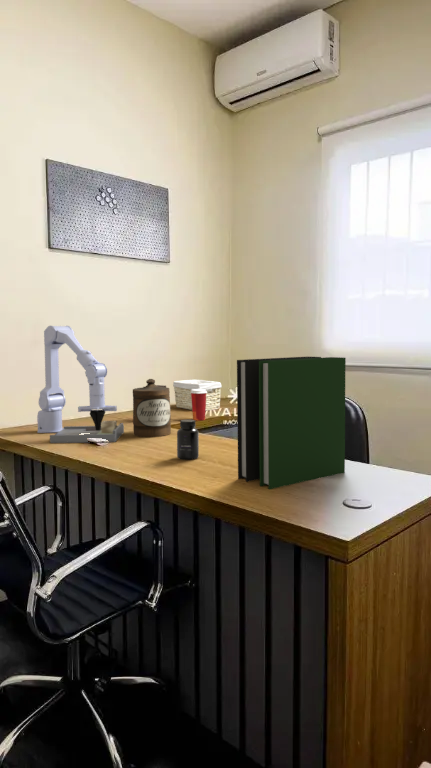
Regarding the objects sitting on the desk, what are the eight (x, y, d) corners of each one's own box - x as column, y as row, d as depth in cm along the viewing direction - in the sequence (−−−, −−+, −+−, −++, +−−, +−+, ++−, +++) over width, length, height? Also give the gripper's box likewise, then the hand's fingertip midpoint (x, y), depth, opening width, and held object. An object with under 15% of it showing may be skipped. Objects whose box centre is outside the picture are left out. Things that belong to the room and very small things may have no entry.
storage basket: (223, 409, 282) (222, 381, 280) (198, 412, 272) (198, 383, 270) (196, 405, 300) (195, 379, 299) (172, 407, 290) (171, 381, 289)
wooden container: (139, 438, 202) (137, 381, 201) (129, 432, 216) (127, 378, 214) (176, 435, 208) (174, 379, 207) (164, 429, 222) (162, 376, 220)
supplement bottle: (182, 461, 164) (181, 422, 163) (173, 457, 170) (173, 420, 169) (202, 458, 167) (201, 421, 166) (193, 454, 173) (192, 418, 172)
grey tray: (50, 443, 196) (49, 432, 196) (64, 433, 216) (64, 423, 215) (115, 441, 196) (114, 431, 196) (123, 432, 216) (123, 422, 216)
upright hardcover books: (271, 490, 132) (270, 361, 129) (234, 477, 144) (233, 359, 141) (344, 472, 148) (345, 357, 145) (306, 462, 160) (306, 356, 157)
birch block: (101, 433, 203) (101, 422, 203) (104, 430, 208) (103, 420, 208) (114, 433, 203) (114, 422, 203) (116, 430, 208) (116, 420, 208)
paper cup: (210, 418, 248) (209, 389, 247) (202, 421, 241) (202, 390, 240) (195, 418, 251) (194, 388, 250) (187, 420, 244) (187, 390, 243)
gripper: (75, 396, 200) (76, 432, 202) (114, 395, 201) (115, 431, 202) (80, 394, 208) (81, 428, 209) (117, 393, 208) (118, 428, 209)
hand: (98, 429), depth 206 cm, fingers closed
